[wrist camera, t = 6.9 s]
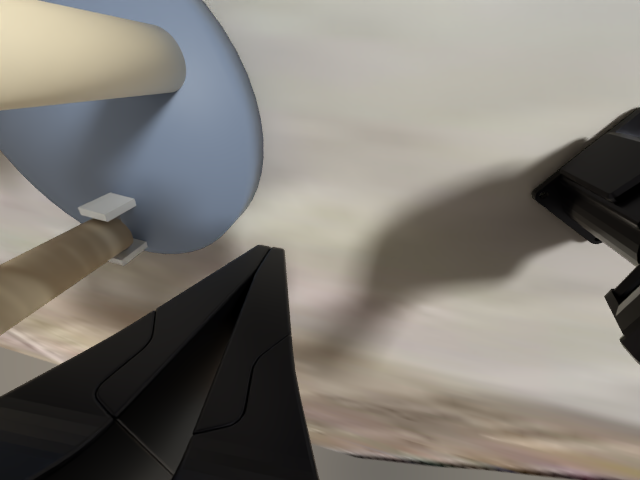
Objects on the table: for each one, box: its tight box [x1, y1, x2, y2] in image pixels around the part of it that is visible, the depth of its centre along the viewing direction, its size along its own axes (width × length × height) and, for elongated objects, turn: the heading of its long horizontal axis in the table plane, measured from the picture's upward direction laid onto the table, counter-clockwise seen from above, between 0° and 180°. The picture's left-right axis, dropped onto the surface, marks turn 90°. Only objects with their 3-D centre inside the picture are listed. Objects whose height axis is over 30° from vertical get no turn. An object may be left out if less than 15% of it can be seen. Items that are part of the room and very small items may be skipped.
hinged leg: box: [0, 215, 133, 335], centre depth 15 cm, size 3×3×13 cm
